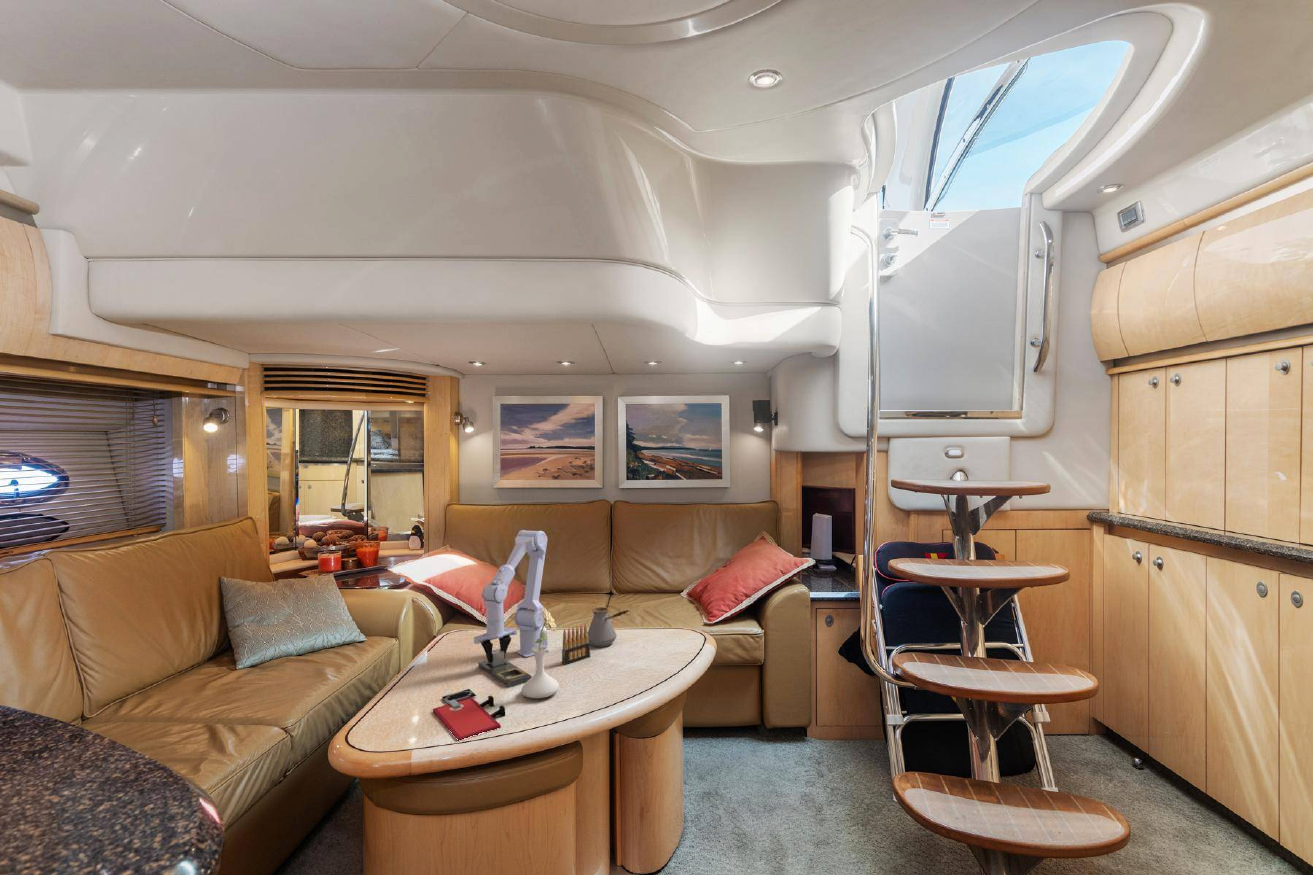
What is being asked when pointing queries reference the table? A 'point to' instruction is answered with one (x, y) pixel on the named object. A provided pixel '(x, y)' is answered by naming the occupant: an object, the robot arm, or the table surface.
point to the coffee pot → (602, 627)
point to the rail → (506, 673)
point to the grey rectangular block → (497, 658)
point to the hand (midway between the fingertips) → (496, 660)
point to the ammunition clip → (575, 645)
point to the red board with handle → (467, 714)
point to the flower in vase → (541, 667)
